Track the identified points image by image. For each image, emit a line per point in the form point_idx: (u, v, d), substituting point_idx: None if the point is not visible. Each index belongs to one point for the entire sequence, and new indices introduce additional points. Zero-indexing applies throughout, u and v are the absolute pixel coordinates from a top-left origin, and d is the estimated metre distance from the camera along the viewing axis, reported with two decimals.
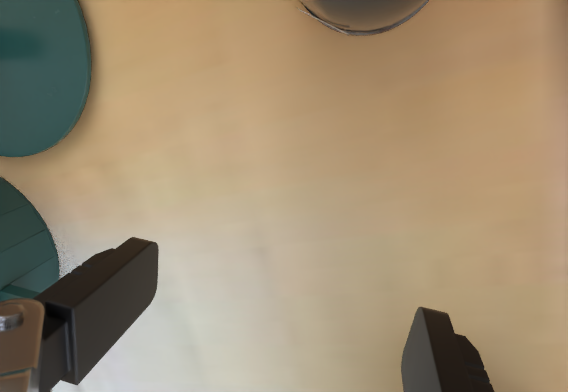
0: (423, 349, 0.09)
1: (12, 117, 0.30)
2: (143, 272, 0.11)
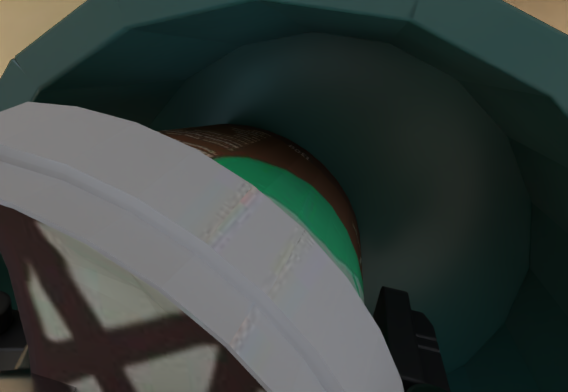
0: (381, 323, 0.10)
1: None
2: None
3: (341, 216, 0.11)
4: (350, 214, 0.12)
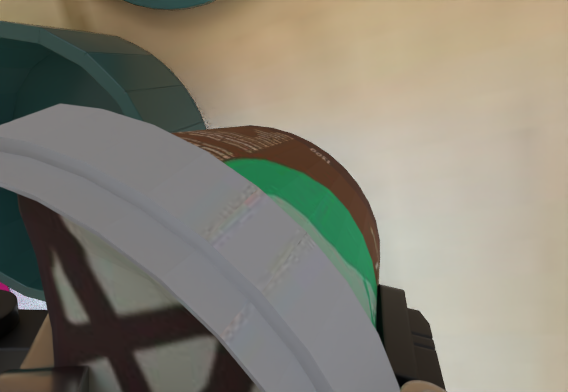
0: (377, 321, 0.10)
1: None
2: None
3: (358, 220, 0.11)
4: (369, 219, 0.13)
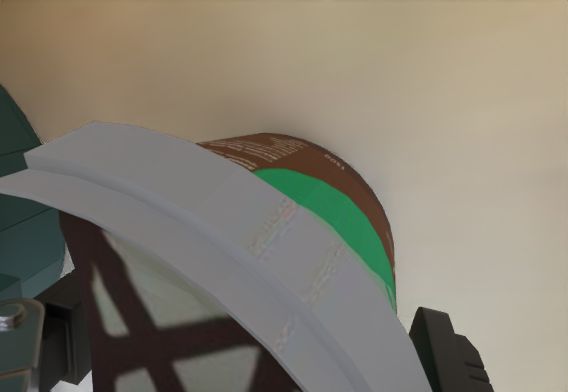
0: (423, 348, 0.09)
1: None
2: None
3: (375, 226, 0.11)
4: (384, 223, 0.13)
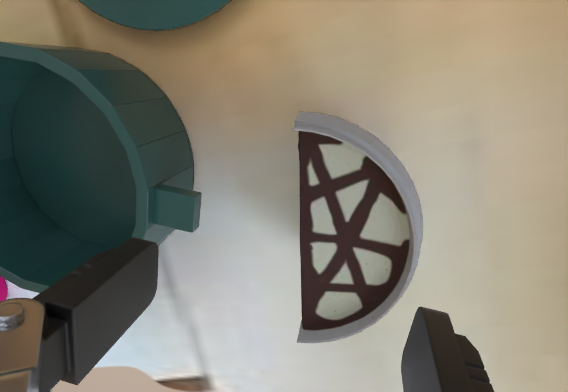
0: (422, 349, 0.09)
1: None
2: (143, 272, 0.11)
3: None
4: None
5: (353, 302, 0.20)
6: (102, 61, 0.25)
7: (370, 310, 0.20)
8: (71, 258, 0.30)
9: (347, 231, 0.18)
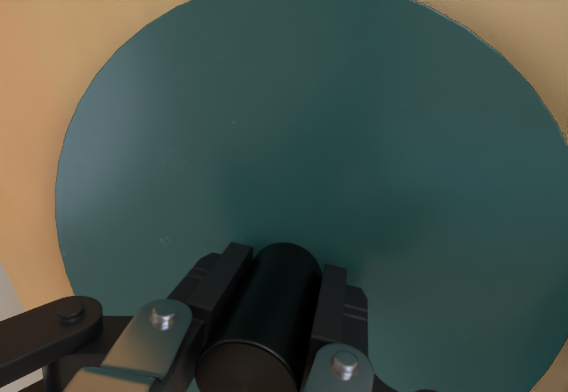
0: (318, 296, 0.11)
1: (468, 258, 0.11)
2: (244, 275, 0.12)
3: None
4: None
5: None
6: None
7: None
8: None
9: None
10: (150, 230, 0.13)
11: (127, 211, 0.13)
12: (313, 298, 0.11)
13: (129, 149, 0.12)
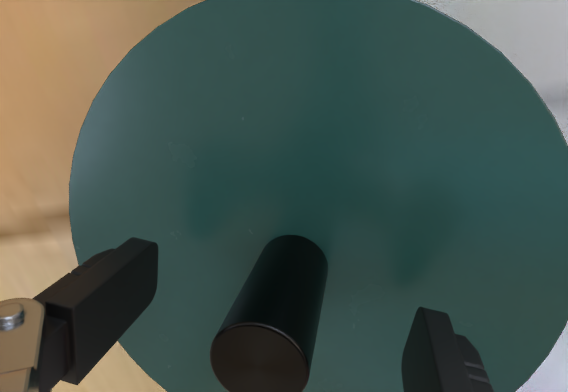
0: (423, 349, 0.09)
1: (469, 248, 0.12)
2: (143, 272, 0.11)
3: None
4: None
5: None
6: None
7: None
8: None
9: None
10: (161, 224, 0.14)
11: (139, 205, 0.14)
12: (320, 287, 0.11)
13: (141, 145, 0.13)
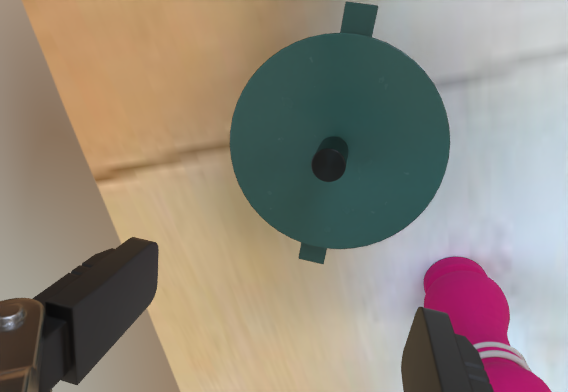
0: (423, 349, 0.09)
1: (406, 138, 0.29)
2: (143, 272, 0.11)
3: None
4: None
5: None
6: None
7: None
8: None
9: None
10: (274, 134, 0.31)
11: (265, 126, 0.31)
12: (346, 151, 0.29)
13: (269, 98, 0.30)
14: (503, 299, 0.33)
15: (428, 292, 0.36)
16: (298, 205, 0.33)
